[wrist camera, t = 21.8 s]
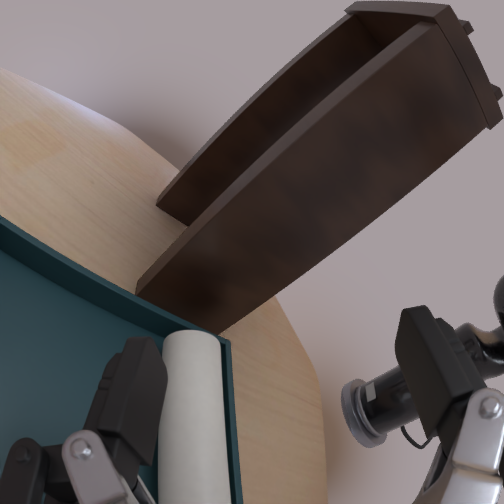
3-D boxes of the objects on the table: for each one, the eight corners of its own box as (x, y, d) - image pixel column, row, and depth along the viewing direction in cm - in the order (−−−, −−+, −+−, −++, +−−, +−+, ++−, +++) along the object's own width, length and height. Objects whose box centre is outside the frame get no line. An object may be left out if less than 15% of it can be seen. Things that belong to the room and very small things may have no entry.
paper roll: (196, 363, 26) (232, 342, 24) (209, 600, 11) (259, 609, 9) (152, 344, 24) (186, 319, 22) (152, 606, 8) (198, 624, 7)
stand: (217, 235, 43) (412, 65, 29) (220, 338, 31) (509, 112, 17) (155, 194, 38) (360, -3, 24) (129, 294, 26) (456, -1, 12)
